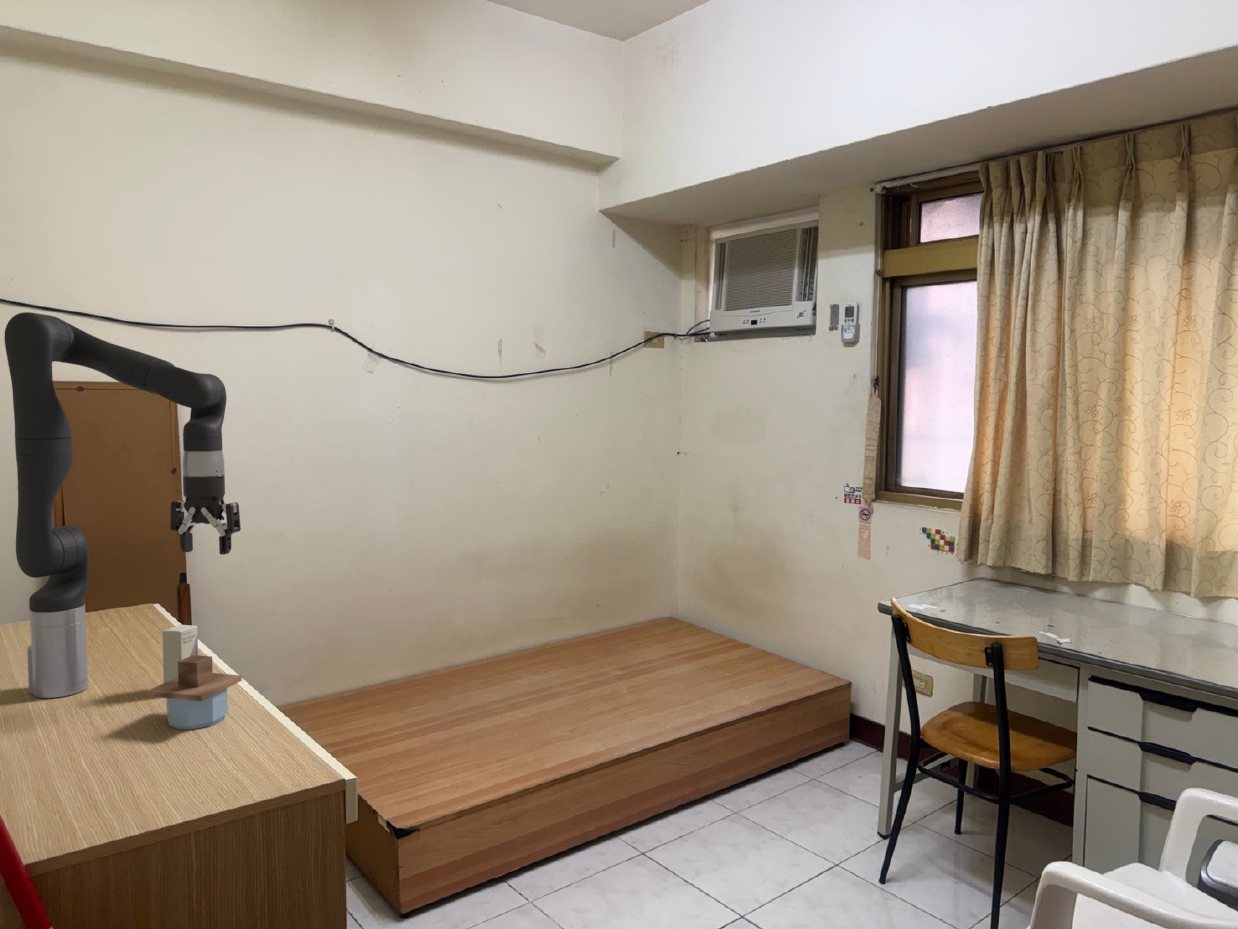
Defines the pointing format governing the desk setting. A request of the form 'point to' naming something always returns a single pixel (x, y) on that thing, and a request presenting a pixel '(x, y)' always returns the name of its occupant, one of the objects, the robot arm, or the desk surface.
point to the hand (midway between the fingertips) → (206, 552)
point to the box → (178, 648)
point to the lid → (195, 681)
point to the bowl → (197, 711)
